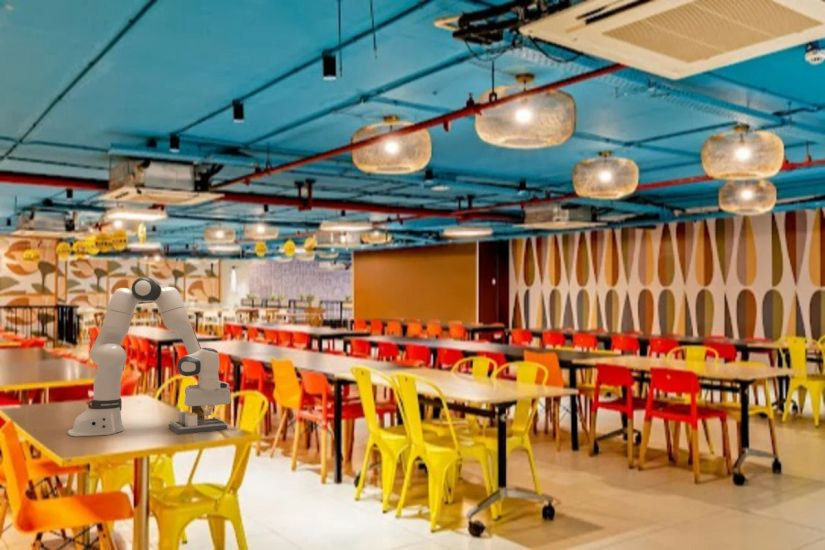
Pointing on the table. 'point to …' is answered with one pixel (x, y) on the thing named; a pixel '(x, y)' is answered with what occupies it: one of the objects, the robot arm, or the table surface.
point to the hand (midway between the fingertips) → (207, 415)
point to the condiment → (198, 412)
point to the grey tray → (199, 426)
